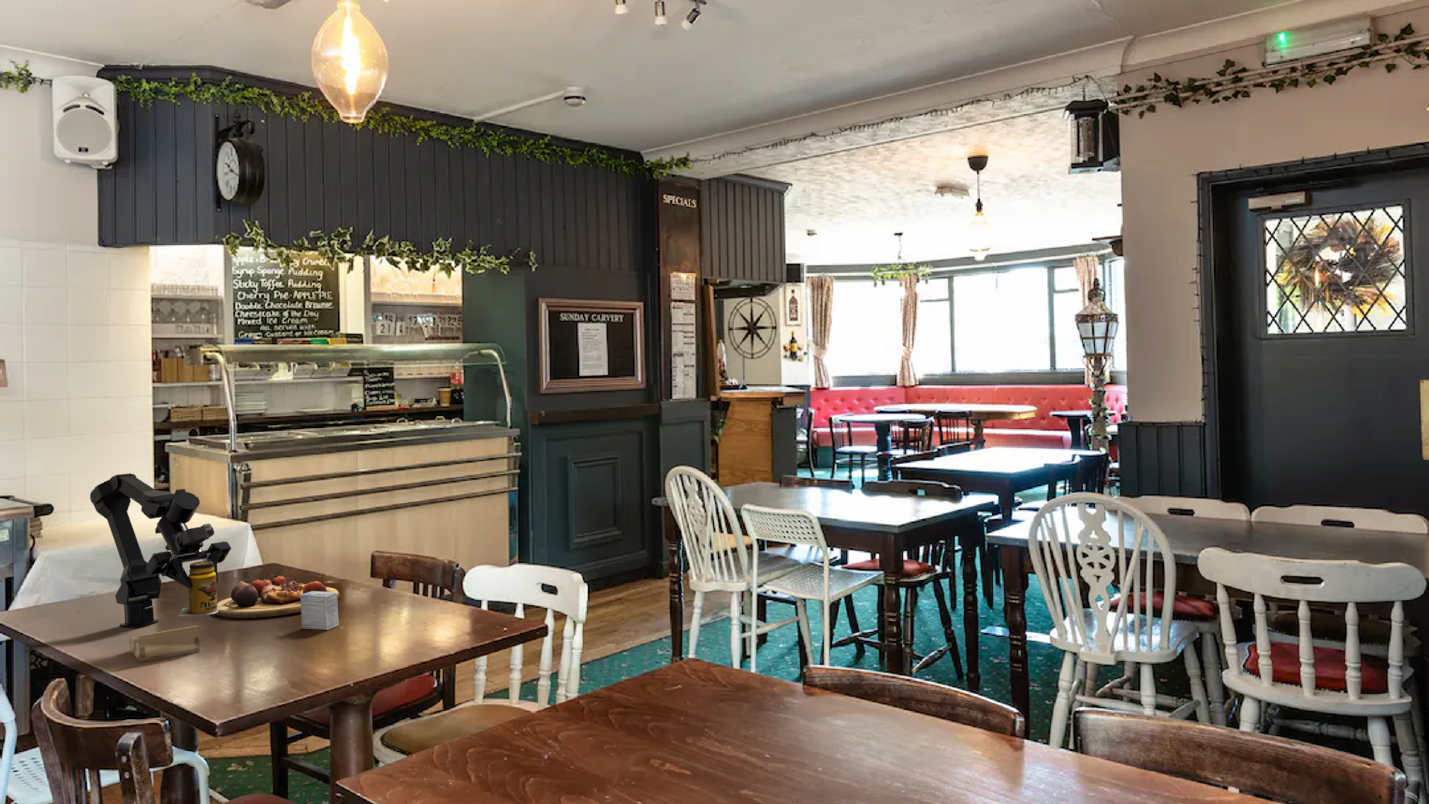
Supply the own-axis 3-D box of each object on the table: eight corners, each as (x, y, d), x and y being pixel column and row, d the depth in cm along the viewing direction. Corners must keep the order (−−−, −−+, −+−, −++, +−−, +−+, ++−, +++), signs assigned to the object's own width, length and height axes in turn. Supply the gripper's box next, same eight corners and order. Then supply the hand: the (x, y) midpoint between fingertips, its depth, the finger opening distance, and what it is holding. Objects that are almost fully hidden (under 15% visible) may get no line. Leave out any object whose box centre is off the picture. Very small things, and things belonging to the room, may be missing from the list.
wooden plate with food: (363, 599, 277) (362, 570, 277) (258, 624, 250) (256, 592, 250) (295, 590, 294) (294, 563, 294) (190, 613, 267) (188, 583, 267)
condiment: (217, 613, 236) (215, 564, 235) (177, 617, 233) (175, 567, 232) (220, 606, 243) (218, 558, 242) (182, 610, 240) (180, 561, 239)
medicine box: (339, 626, 247) (337, 592, 247) (326, 630, 243) (325, 596, 242) (313, 624, 249) (312, 590, 249) (301, 628, 245) (299, 594, 245)
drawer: (130, 650, 229) (128, 625, 229) (187, 640, 237) (185, 616, 237) (140, 662, 219) (139, 636, 219) (199, 651, 227) (198, 626, 227)
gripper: (150, 520, 231) (177, 571, 226) (225, 509, 247) (253, 557, 242) (134, 549, 236) (160, 601, 230) (209, 537, 251) (235, 584, 246)
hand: (204, 584), depth 237 cm, fingers closed on condiment, 6 cm apart
